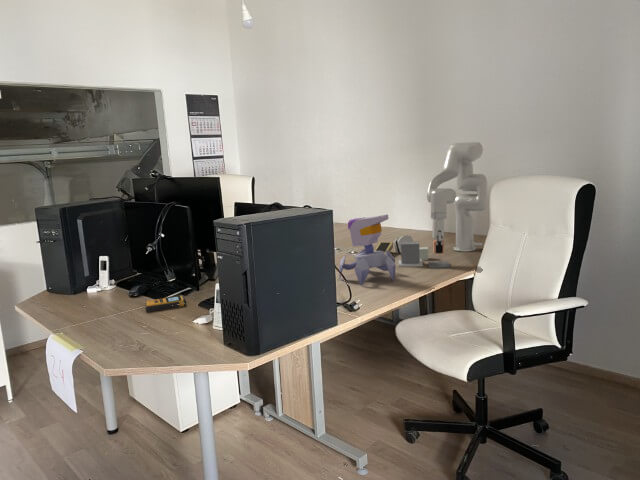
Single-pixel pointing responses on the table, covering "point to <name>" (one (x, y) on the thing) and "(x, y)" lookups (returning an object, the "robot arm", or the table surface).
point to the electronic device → (165, 303)
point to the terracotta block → (435, 247)
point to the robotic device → (368, 248)
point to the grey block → (423, 253)
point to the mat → (439, 264)
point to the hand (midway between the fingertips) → (438, 251)
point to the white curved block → (401, 239)
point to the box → (384, 247)
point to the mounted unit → (410, 255)
